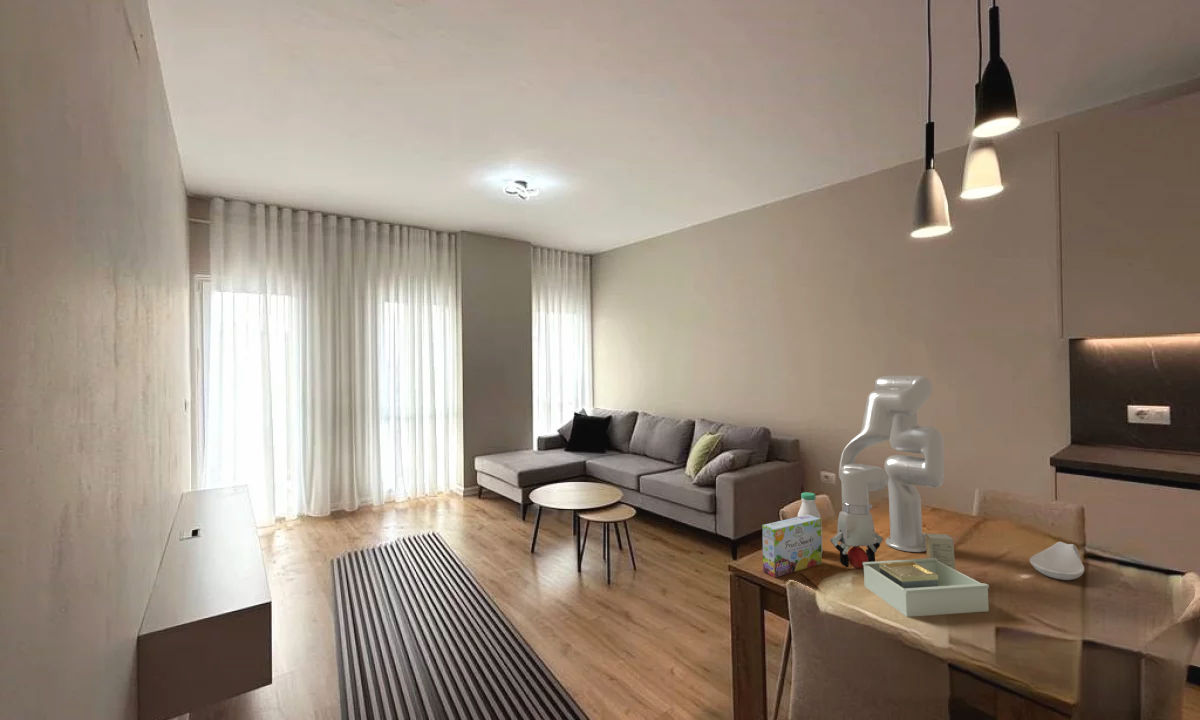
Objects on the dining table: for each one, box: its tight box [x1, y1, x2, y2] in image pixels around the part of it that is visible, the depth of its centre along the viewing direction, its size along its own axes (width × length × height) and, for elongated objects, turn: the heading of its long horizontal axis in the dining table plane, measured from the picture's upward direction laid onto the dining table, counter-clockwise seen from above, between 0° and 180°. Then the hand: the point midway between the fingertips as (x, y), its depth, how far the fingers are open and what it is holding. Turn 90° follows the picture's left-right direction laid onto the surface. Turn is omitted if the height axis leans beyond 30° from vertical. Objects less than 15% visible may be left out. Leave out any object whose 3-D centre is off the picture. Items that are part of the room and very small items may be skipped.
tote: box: [863, 557, 990, 618], centre depth 130 cm, size 22×18×7 cm
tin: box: [879, 561, 938, 589], centre depth 129 cm, size 10×9×8 cm
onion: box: [847, 546, 868, 570], centre depth 150 cm, size 6×6×8 cm
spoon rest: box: [1029, 541, 1085, 581], centre depth 146 cm, size 24×12×7 cm, turn 127°
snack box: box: [761, 515, 823, 578], centre depth 153 cm, size 21×6×15 cm, turn 117°
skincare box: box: [925, 532, 956, 570], centre depth 144 cm, size 6×4×12 cm
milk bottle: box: [797, 491, 824, 553], centre depth 166 cm, size 8×8×20 cm
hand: (857, 564), depth 150 cm, fingers open, 7 cm apart
